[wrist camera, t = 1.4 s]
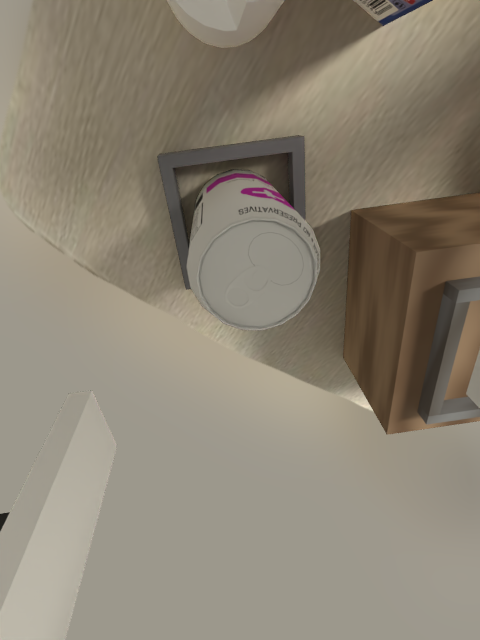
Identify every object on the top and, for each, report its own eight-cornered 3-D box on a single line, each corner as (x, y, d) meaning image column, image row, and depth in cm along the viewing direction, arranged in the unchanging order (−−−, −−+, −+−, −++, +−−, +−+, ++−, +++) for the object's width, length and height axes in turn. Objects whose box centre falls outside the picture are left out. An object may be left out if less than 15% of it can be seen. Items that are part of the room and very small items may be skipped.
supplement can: (236, 146, 30) (258, 170, 17) (297, 213, 33) (355, 275, 20) (175, 216, 32) (155, 283, 19) (238, 271, 35) (257, 359, 23)
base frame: (298, 135, 29) (304, 136, 28) (301, 265, 36) (306, 272, 34) (160, 153, 29) (157, 156, 28) (187, 281, 35) (186, 289, 34)
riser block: (533, 185, 33) (706, 221, 22) (485, 337, 43) (589, 419, 31) (351, 210, 33) (428, 260, 22) (343, 357, 42) (394, 447, 31)
